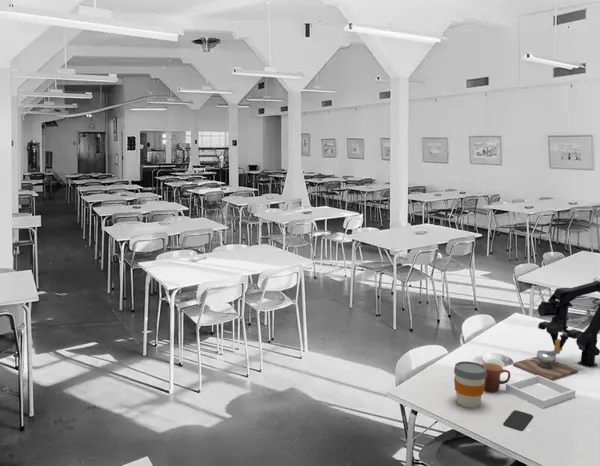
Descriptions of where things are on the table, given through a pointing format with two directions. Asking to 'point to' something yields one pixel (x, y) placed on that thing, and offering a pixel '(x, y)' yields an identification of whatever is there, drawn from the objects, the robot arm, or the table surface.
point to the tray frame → (513, 389)
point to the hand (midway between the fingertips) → (558, 347)
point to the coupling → (549, 353)
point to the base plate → (545, 368)
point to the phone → (518, 420)
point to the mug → (494, 377)
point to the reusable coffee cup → (469, 383)
